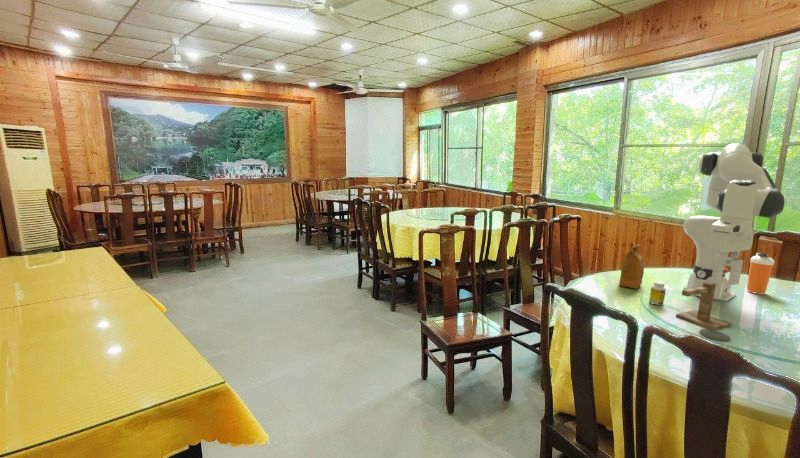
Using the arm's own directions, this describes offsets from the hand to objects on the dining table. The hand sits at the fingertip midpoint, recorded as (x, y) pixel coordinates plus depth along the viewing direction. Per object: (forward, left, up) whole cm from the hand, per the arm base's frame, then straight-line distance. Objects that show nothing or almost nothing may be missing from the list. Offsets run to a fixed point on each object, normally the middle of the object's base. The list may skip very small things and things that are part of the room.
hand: (728, 262), depth 141 cm
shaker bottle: (-80, -23, -29) cm, 88 cm away
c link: (0, 0, -7) cm, 7 cm away
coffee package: (-25, -52, -29) cm, 64 cm away
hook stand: (-6, -10, -28) cm, 31 cm away
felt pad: (0, 0, -28) cm, 28 cm away
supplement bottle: (-12, -30, -29) cm, 43 cm away
